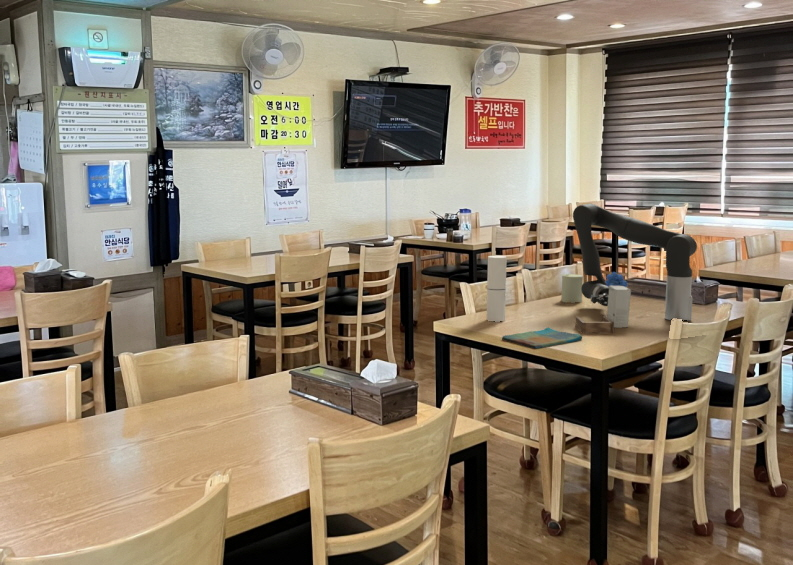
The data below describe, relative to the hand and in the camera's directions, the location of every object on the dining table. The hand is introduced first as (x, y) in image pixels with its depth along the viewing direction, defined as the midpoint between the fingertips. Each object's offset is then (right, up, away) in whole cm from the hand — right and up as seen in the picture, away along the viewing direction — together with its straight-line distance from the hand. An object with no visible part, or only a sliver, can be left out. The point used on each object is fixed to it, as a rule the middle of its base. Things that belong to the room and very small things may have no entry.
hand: (614, 302), depth 305 cm
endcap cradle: (-11, -10, -12) cm, 19 cm away
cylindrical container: (-45, -7, +5) cm, 46 cm away
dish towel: (-33, -13, -28) cm, 46 cm away
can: (-6, -1, +49) cm, 49 cm away
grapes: (+15, 0, +55) cm, 58 cm away
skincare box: (0, -9, -4) cm, 10 cm away
